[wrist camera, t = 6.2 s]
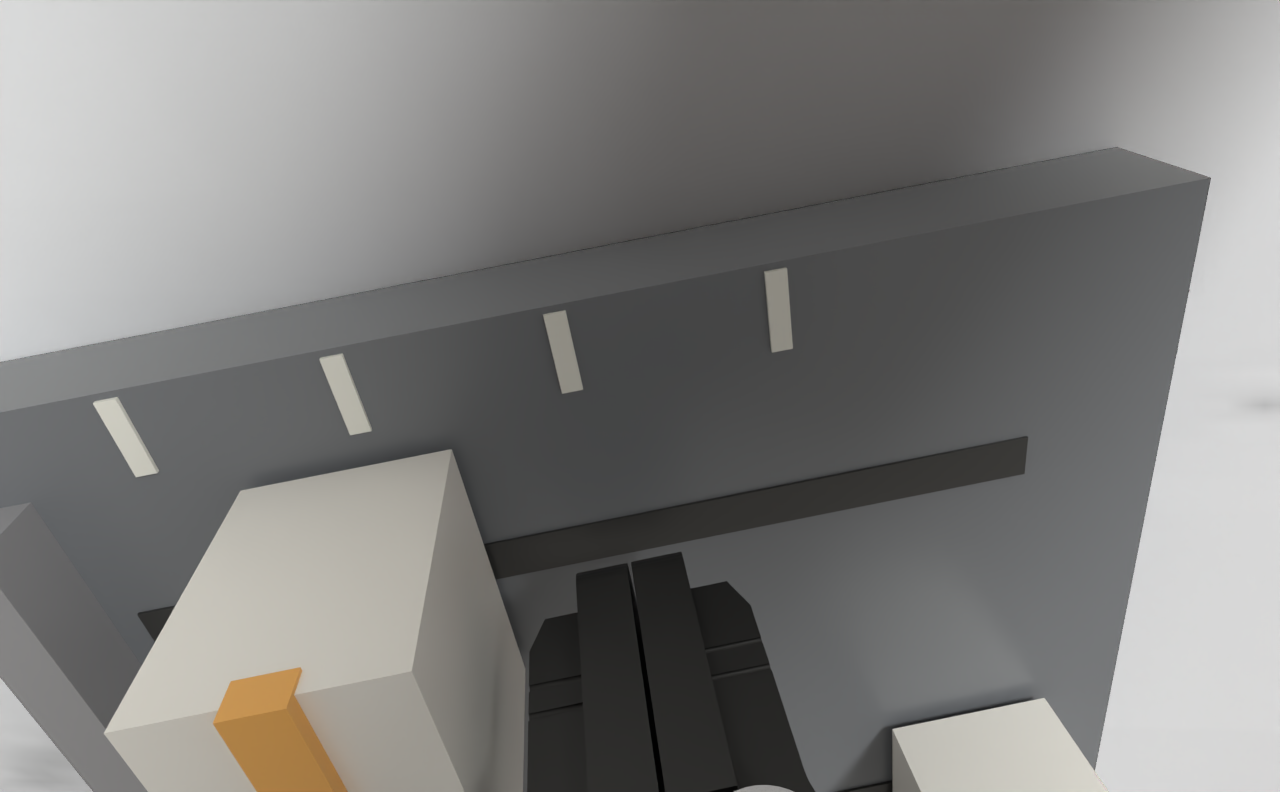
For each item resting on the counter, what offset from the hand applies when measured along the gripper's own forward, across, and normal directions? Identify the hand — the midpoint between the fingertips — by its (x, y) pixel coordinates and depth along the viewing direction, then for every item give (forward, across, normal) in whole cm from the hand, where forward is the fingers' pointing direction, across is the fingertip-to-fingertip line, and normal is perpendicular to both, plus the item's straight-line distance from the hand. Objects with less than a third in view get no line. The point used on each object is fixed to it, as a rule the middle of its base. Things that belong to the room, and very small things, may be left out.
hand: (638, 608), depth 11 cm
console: (+4, 0, +4) cm, 5 cm away
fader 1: (+1, +4, 0) cm, 4 cm away
